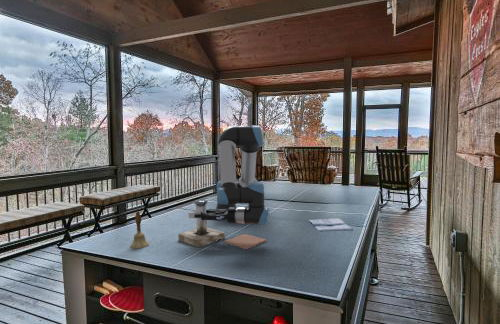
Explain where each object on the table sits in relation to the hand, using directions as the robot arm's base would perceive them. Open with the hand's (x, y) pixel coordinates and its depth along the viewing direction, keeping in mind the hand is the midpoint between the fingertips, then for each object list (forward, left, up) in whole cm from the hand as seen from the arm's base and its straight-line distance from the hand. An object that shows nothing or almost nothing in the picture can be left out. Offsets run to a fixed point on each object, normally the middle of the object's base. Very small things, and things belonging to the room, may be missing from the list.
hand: (191, 213), depth 149 cm
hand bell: (+22, -11, -13) cm, 28 cm away
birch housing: (-2, +5, -13) cm, 14 cm away
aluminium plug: (-3, +5, -10) cm, 11 cm away
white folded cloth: (-62, +43, -13) cm, 77 cm away
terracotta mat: (-12, +25, -13) cm, 30 cm away
